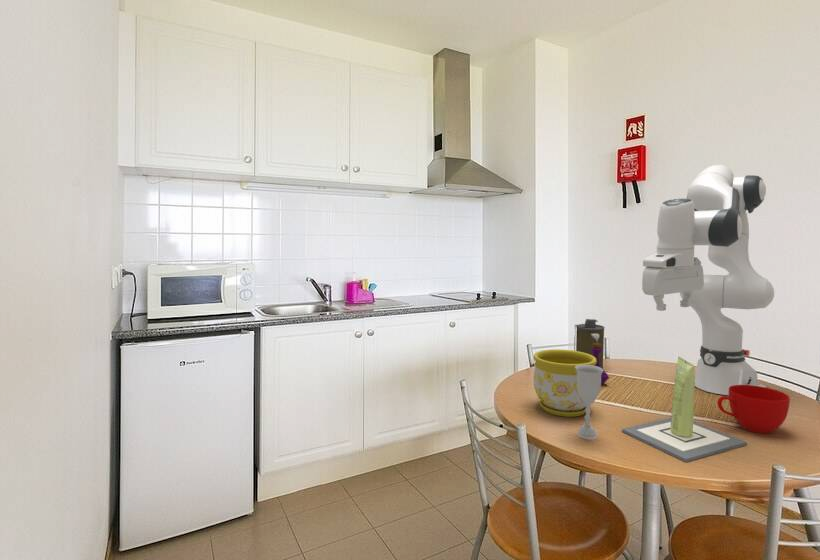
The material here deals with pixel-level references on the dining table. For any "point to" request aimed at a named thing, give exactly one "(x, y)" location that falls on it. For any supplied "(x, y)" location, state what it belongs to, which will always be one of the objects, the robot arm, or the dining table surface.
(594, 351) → the perfume bottle
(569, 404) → the flowerpot
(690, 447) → the picture frame
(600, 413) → the dining table surface
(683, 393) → the tube
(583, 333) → the canister
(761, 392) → the ceramic cup
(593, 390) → the chalice
